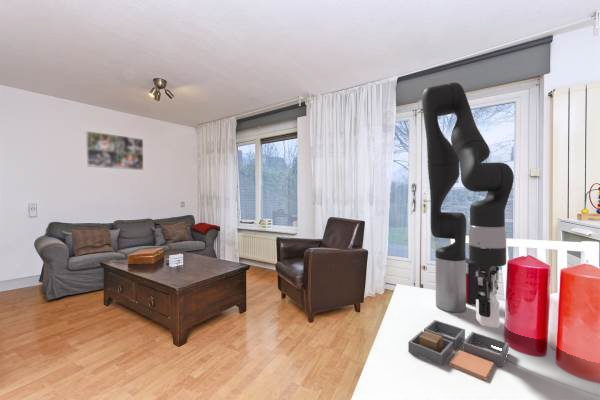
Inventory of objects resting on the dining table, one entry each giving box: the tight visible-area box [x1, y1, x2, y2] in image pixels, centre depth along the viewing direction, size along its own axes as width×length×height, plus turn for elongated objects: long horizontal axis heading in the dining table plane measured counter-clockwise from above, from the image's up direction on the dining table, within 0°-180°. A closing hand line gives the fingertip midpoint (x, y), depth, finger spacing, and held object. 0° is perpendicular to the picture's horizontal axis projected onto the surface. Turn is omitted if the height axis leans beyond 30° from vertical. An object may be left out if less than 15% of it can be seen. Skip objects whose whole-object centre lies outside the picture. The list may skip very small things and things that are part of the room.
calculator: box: [466, 257, 479, 305], centre depth 100 cm, size 11×4×15 cm, turn 178°
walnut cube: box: [419, 331, 443, 353], centre depth 66 cm, size 4×4×4 cm
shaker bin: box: [462, 331, 510, 368], centre depth 66 cm, size 8×8×2 cm
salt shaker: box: [475, 286, 500, 328], centre depth 66 cm, size 4×4×10 cm
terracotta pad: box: [449, 349, 495, 382], centre depth 61 cm, size 7×7×1 cm
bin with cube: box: [407, 330, 454, 366], centre depth 66 cm, size 8×8×2 cm
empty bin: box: [423, 319, 466, 351], centre depth 73 cm, size 8×8×2 cm
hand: (487, 311), depth 66 cm, fingers closed on salt shaker, 5 cm apart
